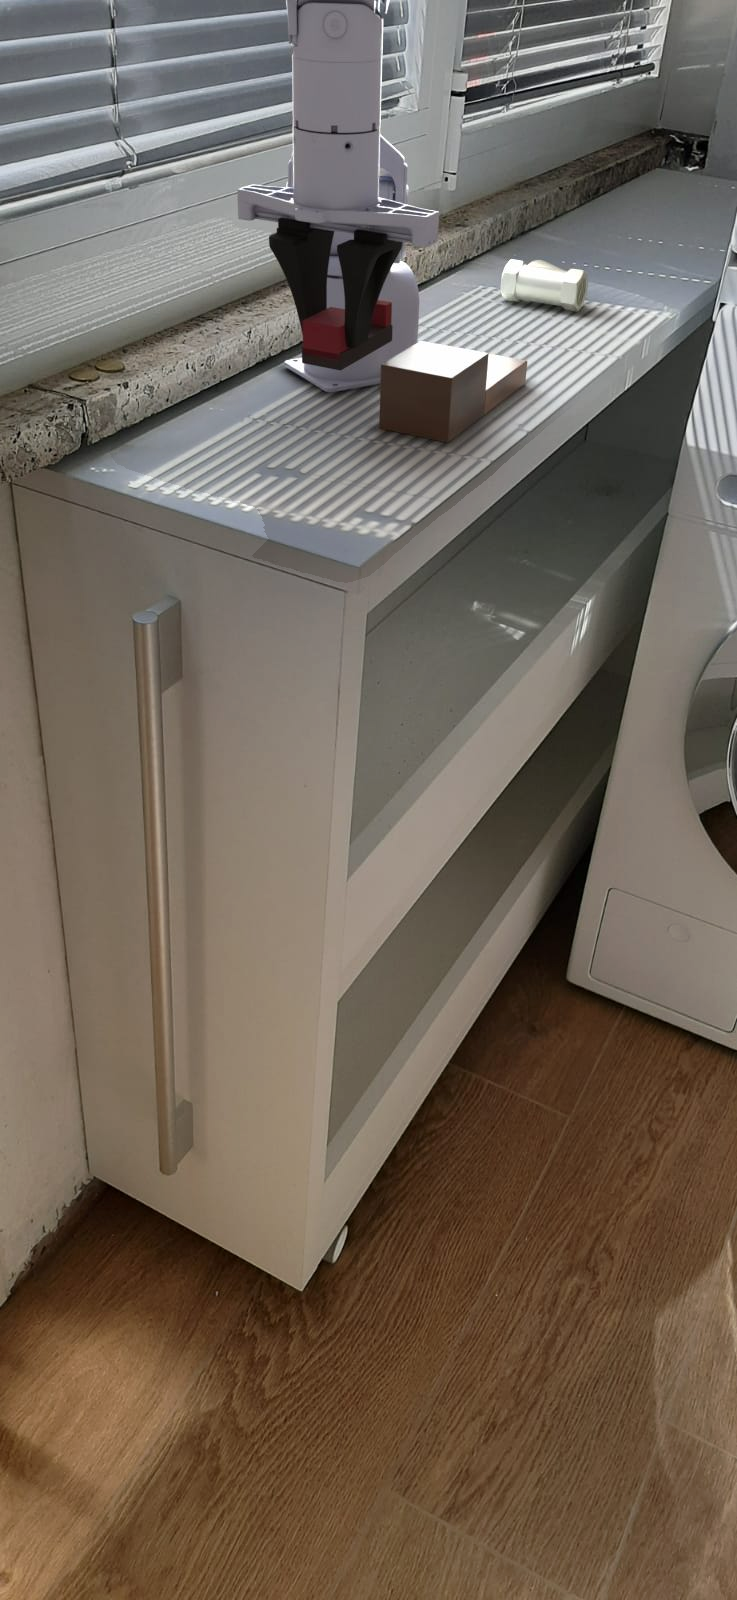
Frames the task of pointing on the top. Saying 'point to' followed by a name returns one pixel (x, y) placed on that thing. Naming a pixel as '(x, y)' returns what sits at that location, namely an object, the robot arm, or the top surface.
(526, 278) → the pipe fitting
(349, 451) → the top surface
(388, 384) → the copper l-shaped step block
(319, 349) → the red blocks on slab
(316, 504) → the top surface
